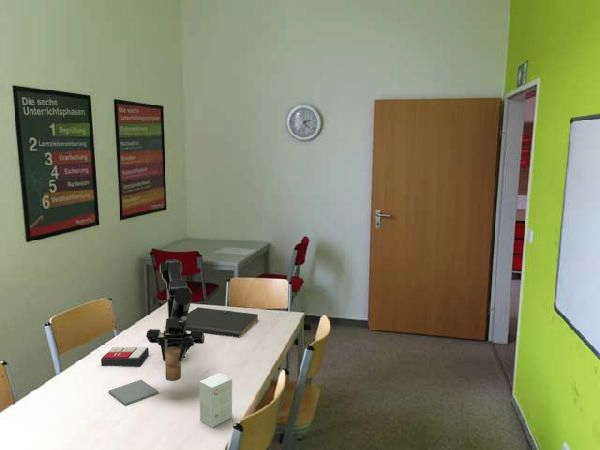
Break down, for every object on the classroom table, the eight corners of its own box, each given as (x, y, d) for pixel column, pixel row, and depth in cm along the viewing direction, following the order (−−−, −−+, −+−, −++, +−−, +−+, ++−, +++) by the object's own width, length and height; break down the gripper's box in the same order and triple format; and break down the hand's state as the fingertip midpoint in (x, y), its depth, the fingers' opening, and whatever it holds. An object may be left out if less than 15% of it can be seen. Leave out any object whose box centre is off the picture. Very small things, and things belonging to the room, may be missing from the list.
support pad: (141, 381, 173) (141, 379, 173) (158, 393, 165) (158, 391, 165) (108, 392, 165) (108, 390, 165) (125, 406, 157) (125, 403, 156)
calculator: (111, 346, 196) (148, 345, 195) (112, 356, 196) (149, 355, 196) (100, 357, 185) (139, 356, 184) (101, 368, 186) (139, 367, 185)
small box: (219, 410, 155) (219, 372, 153) (232, 417, 151) (232, 378, 149) (199, 420, 149) (198, 380, 147) (212, 428, 145) (212, 387, 143)
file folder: (258, 313, 239) (239, 331, 216) (258, 321, 239) (239, 339, 216) (197, 306, 247) (173, 322, 225) (197, 314, 248) (173, 330, 225)
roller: (175, 372, 166) (175, 345, 164) (183, 377, 162) (183, 349, 161) (162, 377, 162) (162, 349, 161) (170, 382, 159) (170, 353, 157)
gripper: (147, 306, 162) (137, 351, 153) (202, 307, 163) (196, 351, 154) (154, 320, 171) (145, 363, 162) (207, 321, 172) (201, 364, 163)
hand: (172, 360), depth 160 cm, fingers closed on roller, 5 cm apart
